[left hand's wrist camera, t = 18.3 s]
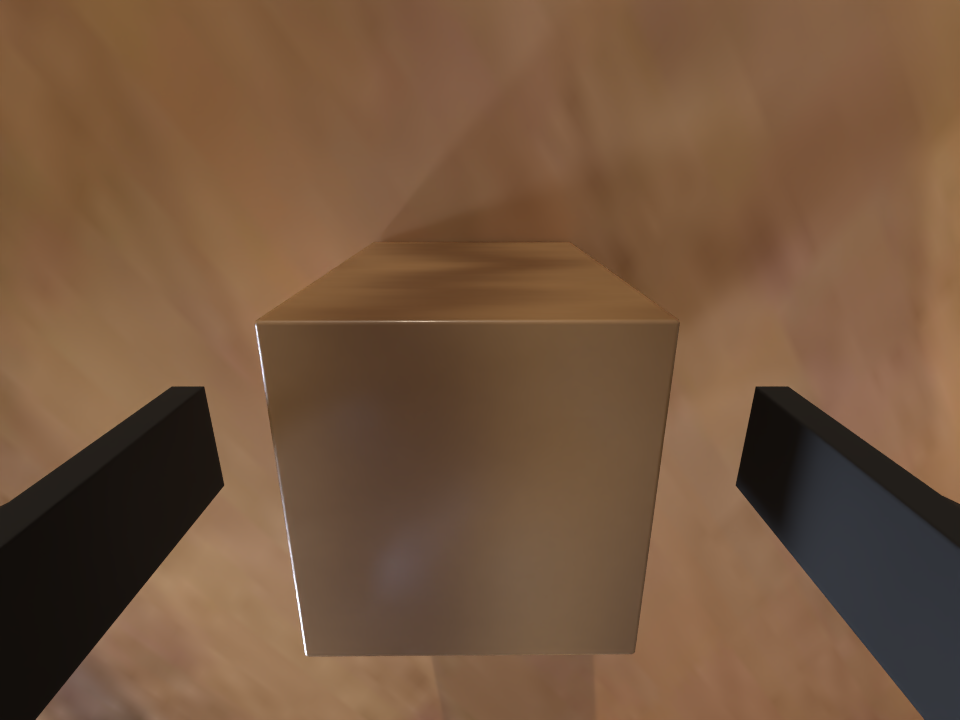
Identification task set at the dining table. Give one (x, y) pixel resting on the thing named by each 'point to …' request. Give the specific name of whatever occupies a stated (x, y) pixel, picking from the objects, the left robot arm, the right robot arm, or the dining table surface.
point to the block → (468, 449)
